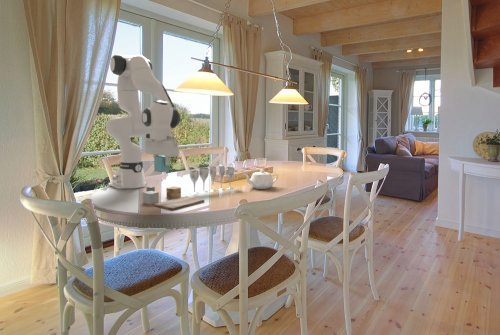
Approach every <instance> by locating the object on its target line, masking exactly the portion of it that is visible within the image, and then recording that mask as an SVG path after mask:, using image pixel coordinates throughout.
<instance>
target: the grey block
mask: <svg viewBox="0 0 500 335" xmlns="http://www.w3.org/2000/svg"><path fill="white" fill-rule="evenodd" d="M159 195H160V194H159V192H158V191H156V190H155V191H148V192H147V191H145V192H144V191H143V192H142V203H143V204H147V205H154V204H155V203H160V199H159V197H160V196H159Z"/></svg>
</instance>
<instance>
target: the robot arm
mask: <svg viewBox="0 0 500 335" xmlns="http://www.w3.org/2000/svg"><path fill="white" fill-rule="evenodd" d="M109 68H110V70H111V72H112V74H114V75H117V76H118V77H117V85H116V86H117V88H116V89H117V91H116V92H117V100H118V101H117V103H118V107H119V108H120V110H122V111H124V112H126V113H127V114H128V115H129V117H127V116H125V117H124V116H118V117H112V118H111V117H110V118H109V119H108V120H107V122H106V124H105V130H106V133H107V134H108V135H109V136H110V137H112V138H113V139H114V140H115V141H116V143H117V144H118V147H119V149H120V160H121V161H120V162H119V163H118V165H119V168H118V169H117V170H116V171H115V173H113V175H112V181H111V182H108V183H107V184H108V186H109V187H112V188H115V189H119V190H121V189H122V190H123V189H138V188H144V187H146V185H147V181H146V176H145V170H144V169H143V168H144V162H143V154H142V153H143V152H142V150H143V149H142V147H141V146H140V145H139V144H137V143H135V142H133V141H132V139H131V138H144V139H145V142H144V143H145V144H144V148H145V152H146V154H148V155H149V154H150V155H152V157H153V158H154V157H155V156H165V158H166V160H165V162H164V165H166V166H168V165H169V163H170V162H171V161H170V160H171V158H177V157H178V156H179V154H180V151H179V150H180V149H179V144H178V139H177V138H176V137H175V136H172V129H175V128H177V126H179V124H180V122H181V115H180V112H179V111H178V109H177V107H176V106H175V105H174V103H173V101H172V100H171V97H170V95H169V93H168V92H167V89H166V88H165V86H164V85H163V84H162V82H160V81H159V80H158V79H157V77H155V75H154V73H153V63H152V62H151V60H150V59H147V58H146V57H145V56H143V55H141V54H136V55H121V54H115V55H112V57H111V58H110V61H109ZM139 92H141V93H144V94H148V95H150V96H153V97H155V98H156V99H157V100H154V101H152V103H151V106H149V107H148V108H145V109H144V110H143V109H142V107H141V103H140V97H139Z"/></svg>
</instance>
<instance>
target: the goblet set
mask: <svg viewBox="0 0 500 335" xmlns="http://www.w3.org/2000/svg"><path fill="white" fill-rule="evenodd" d="M209 175H210V179H211V182H212V184H214V181H215V178H216V175H217V166H210V167H199V169H198V170H196V169H195V170H190V172H189V178H190V179H191V180H190V181H192V183H193V191H192V192H190V194H191V195H198V194H200V193H201V194H206V193H209V192H217V190H219V191H225V190H234V189H235V187H231V186H229V187H226V188H223V179H224V176H226V177H227V178H228V180H229V184H231V183H232V182H231V181H232V179H233V177H234V176H235V175H236V168H235V167H234V166H233V167H232V166H228V167H227V166H226V167H225V166H222V165H220V166H218V175H219V178H220V182H221V184H220V185H221V187H220V188H219V189H217V190H216V189H210V190H209V191H208V190H205V182H206V180H207V178H208V177H209ZM199 177H200V179H201V181H202V183H203V190H200V191H199V192H198V191H196V190H195V189H196V184H197V181H198V180H199Z"/></svg>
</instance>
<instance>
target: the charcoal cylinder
mask: <svg viewBox="0 0 500 335" xmlns="http://www.w3.org/2000/svg"><path fill="white" fill-rule="evenodd" d="M145 187H146V186H145ZM145 190H146V191H145V192H148V191H155V192H156V187H155V186H147V187H146V188H145Z"/></svg>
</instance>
